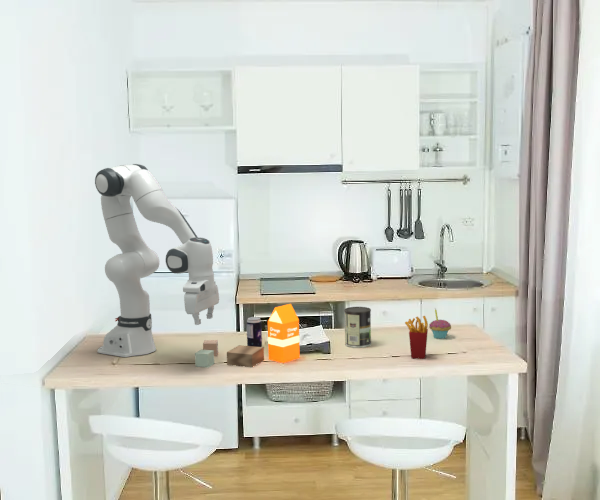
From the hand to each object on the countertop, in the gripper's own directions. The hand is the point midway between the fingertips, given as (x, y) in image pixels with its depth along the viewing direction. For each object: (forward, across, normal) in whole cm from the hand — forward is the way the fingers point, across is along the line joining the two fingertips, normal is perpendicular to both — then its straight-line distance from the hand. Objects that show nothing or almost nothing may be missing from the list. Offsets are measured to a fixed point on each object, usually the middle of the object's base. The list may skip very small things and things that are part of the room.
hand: (203, 321), depth 273 cm
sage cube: (+16, 0, -1) cm, 16 cm away
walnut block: (+17, -7, +12) cm, 22 cm away
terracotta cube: (+16, -13, -5) cm, 21 cm away
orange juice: (+17, -15, +24) cm, 33 cm away
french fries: (+17, -31, +70) cm, 79 cm away
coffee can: (+17, -41, +45) cm, 64 cm away
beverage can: (+16, -25, +8) cm, 31 cm away
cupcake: (+17, -60, +74) cm, 97 cm away
